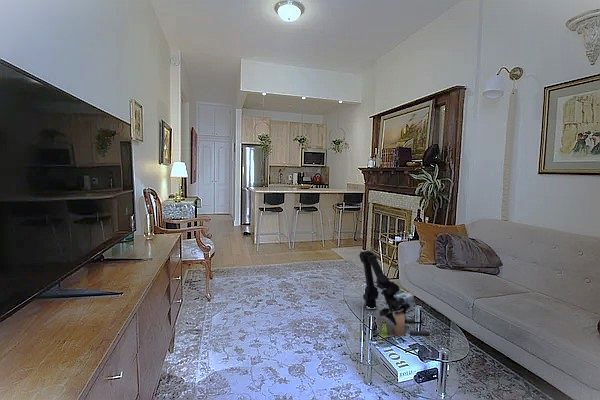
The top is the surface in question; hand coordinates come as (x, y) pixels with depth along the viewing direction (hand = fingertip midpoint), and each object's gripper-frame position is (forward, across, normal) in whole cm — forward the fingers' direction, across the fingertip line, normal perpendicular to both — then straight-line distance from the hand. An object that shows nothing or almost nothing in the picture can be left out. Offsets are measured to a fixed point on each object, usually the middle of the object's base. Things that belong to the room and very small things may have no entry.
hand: (400, 324), depth 192 cm
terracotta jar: (+4, 0, +6) cm, 7 cm away
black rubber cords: (+4, +12, +6) cm, 14 cm away
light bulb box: (-11, +19, +21) cm, 30 cm away
